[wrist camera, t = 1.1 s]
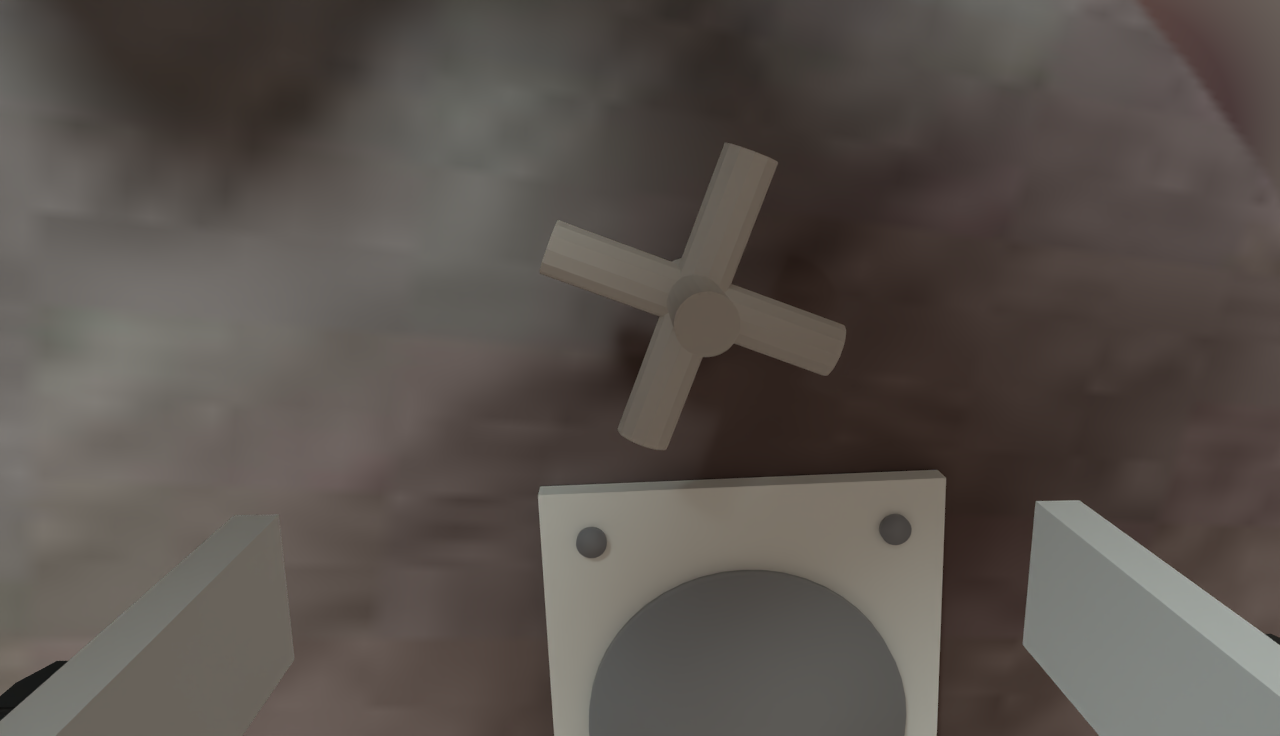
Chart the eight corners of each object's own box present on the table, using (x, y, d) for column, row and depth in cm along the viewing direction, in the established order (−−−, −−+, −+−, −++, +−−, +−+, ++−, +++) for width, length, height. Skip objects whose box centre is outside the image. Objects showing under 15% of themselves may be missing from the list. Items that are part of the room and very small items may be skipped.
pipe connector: (854, 202, 33) (949, 213, 23) (756, 441, 35) (807, 544, 25) (604, 107, 32) (595, 77, 23) (518, 357, 34) (475, 430, 24)
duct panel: (540, 486, 35) (536, 500, 34) (937, 469, 35) (951, 483, 34) (568, 907, 40) (565, 937, 38) (923, 891, 40) (935, 920, 38)
